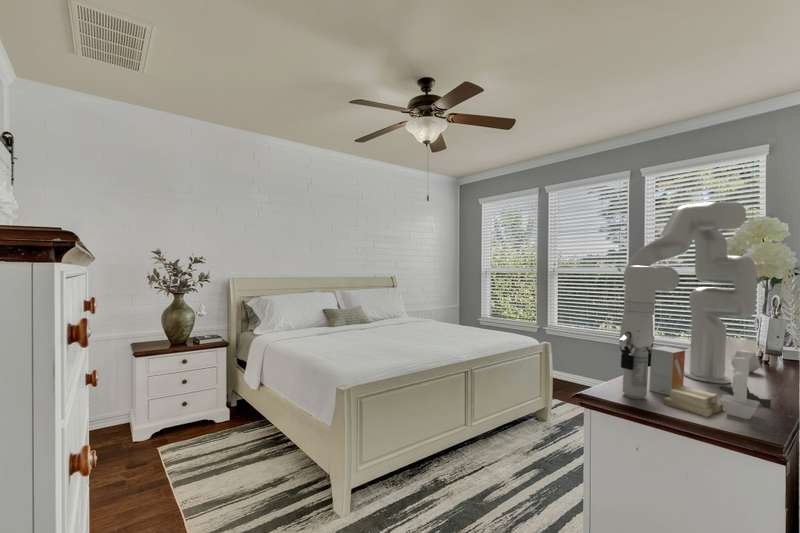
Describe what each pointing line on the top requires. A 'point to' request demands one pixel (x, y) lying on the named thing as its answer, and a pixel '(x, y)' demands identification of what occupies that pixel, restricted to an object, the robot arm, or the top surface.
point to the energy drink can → (637, 375)
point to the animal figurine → (749, 395)
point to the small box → (666, 369)
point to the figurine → (740, 392)
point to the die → (752, 357)
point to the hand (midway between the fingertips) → (635, 367)
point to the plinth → (694, 401)
